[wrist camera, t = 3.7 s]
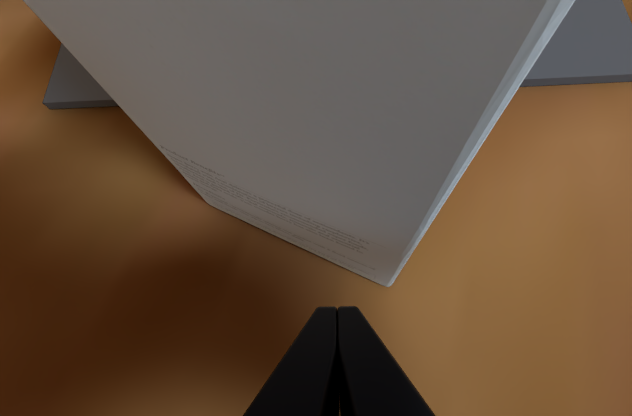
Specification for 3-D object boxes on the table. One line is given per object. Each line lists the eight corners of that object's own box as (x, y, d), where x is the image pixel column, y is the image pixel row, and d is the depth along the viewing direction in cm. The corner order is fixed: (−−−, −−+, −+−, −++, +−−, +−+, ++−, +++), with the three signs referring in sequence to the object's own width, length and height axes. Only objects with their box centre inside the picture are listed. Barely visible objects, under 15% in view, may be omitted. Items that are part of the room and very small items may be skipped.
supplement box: (464, 117, 17) (987, -887, 3) (390, 293, 14) (1550, -1129, 1) (293, 57, 19) (163, -724, 5) (199, 202, 16) (-574, -612, 3)
